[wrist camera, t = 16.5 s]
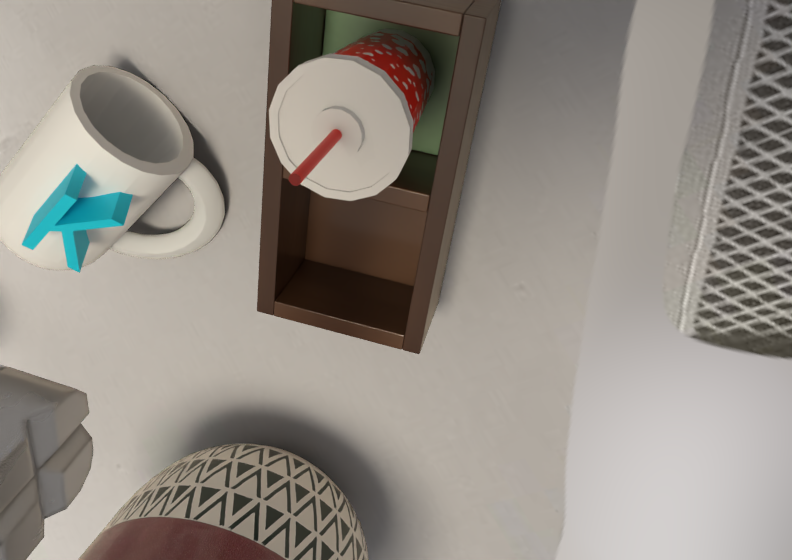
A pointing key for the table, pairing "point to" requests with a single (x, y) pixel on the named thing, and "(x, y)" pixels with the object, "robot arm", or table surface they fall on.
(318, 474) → the planter
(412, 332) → the holder
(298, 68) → the beverage cup
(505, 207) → the table surface
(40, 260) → the mug
